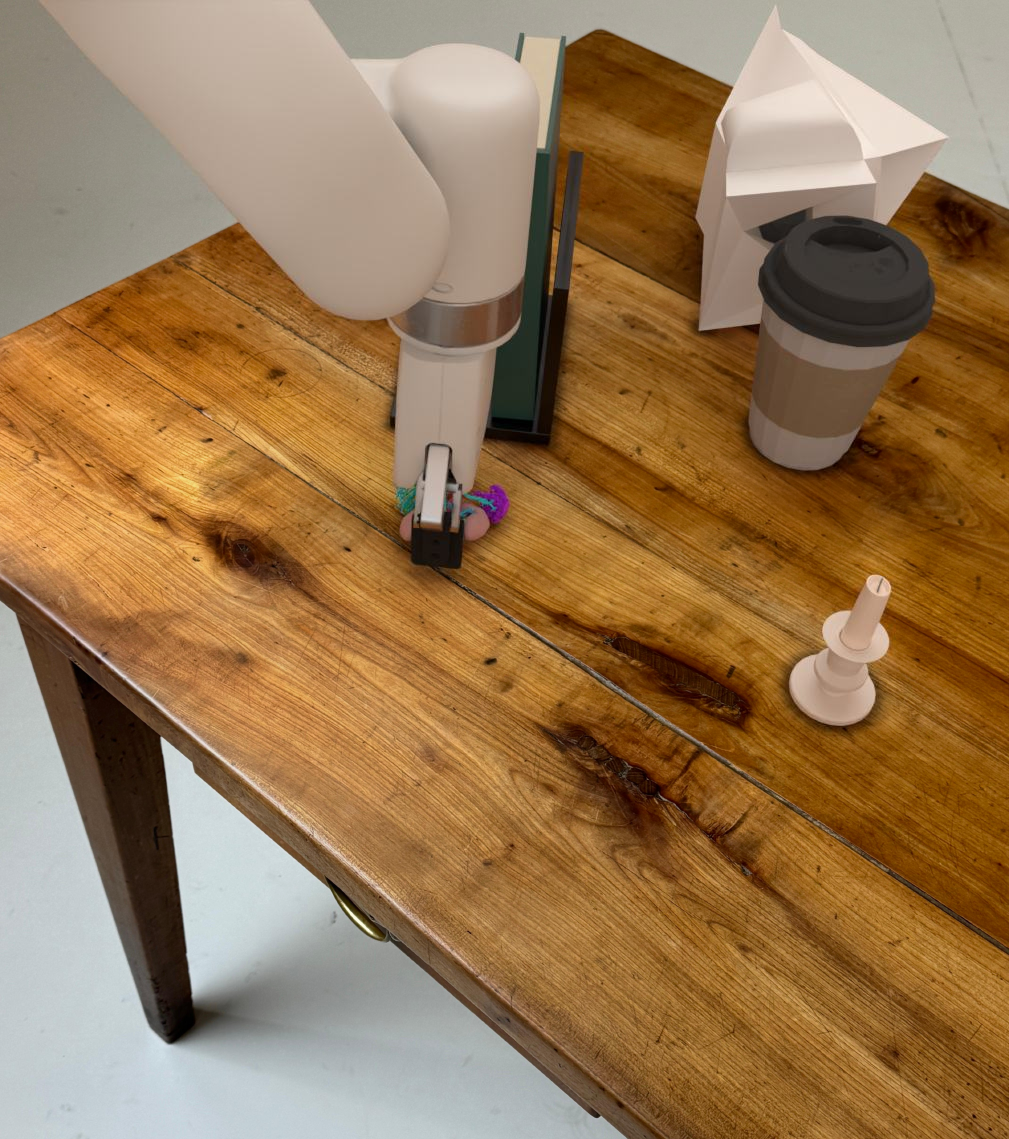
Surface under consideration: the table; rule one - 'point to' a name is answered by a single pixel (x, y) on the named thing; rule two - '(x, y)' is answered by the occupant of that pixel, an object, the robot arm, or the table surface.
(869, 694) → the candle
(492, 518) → the anatomy model
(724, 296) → the folded paper
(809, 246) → the coffee cup
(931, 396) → the table surface
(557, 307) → the book stand
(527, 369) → the book
